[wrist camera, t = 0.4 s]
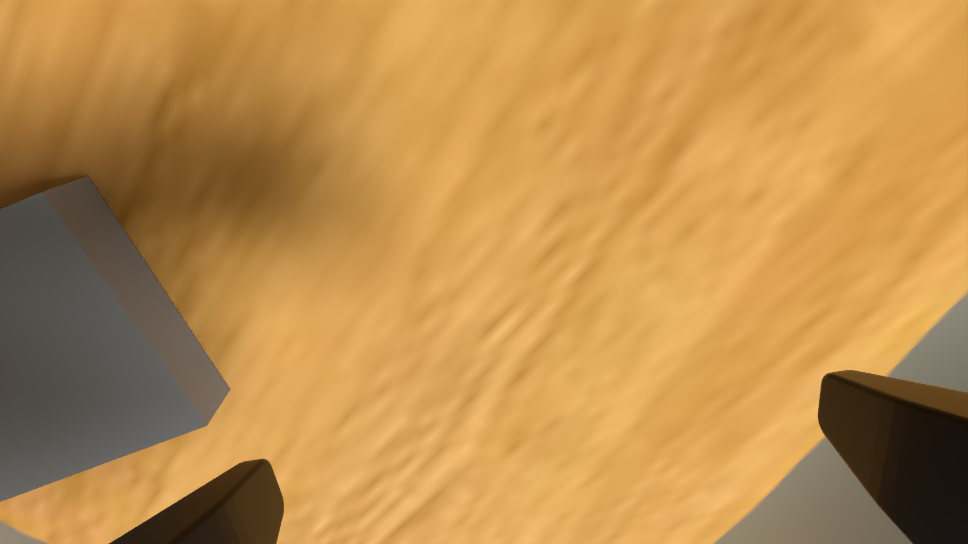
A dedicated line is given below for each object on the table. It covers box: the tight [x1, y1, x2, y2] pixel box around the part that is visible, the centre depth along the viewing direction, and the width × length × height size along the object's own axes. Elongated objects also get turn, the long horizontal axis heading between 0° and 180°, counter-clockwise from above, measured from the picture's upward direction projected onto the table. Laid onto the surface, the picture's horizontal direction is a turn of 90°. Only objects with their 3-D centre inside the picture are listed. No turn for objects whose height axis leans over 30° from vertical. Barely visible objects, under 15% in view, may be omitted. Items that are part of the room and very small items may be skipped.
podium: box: [0, 176, 230, 502], centre depth 22 cm, size 10×10×2 cm
